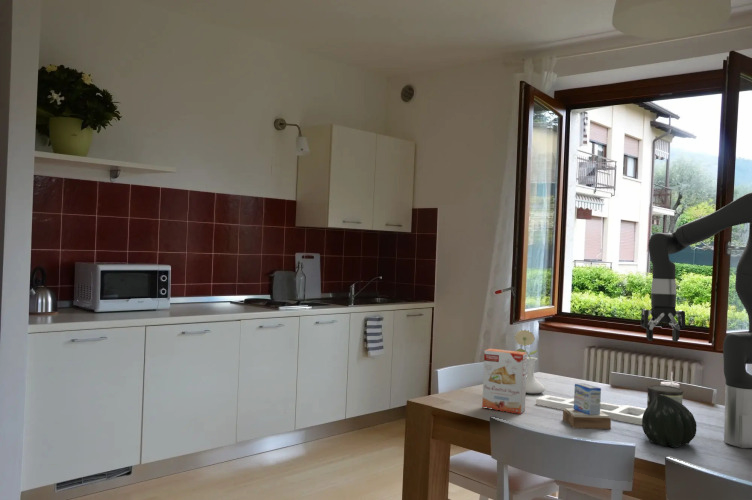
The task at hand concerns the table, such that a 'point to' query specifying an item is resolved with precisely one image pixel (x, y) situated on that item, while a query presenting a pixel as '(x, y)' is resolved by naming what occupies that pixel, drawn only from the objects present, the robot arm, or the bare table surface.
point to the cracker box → (504, 380)
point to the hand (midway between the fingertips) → (662, 341)
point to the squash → (668, 422)
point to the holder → (609, 409)
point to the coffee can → (664, 393)
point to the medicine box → (587, 399)
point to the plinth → (586, 419)
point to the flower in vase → (529, 361)
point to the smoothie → (670, 382)
